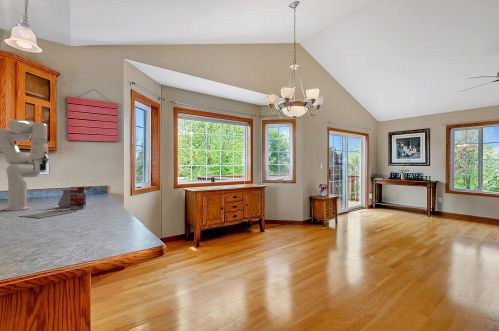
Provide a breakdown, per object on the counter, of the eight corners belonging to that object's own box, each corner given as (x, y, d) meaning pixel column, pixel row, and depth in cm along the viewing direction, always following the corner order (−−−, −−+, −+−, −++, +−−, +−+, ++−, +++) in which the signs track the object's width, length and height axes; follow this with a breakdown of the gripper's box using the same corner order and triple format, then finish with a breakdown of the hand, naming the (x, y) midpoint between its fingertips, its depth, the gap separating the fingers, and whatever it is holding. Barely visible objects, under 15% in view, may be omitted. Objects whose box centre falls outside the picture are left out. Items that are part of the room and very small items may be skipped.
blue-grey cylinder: (32, 172, 155) (32, 159, 155) (41, 172, 160) (41, 160, 160) (38, 172, 154) (38, 159, 154) (46, 172, 159) (46, 159, 159)
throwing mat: (18, 216, 146) (18, 215, 146) (56, 210, 168) (56, 209, 168) (40, 218, 142) (40, 217, 142) (76, 211, 163) (76, 210, 163)
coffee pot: (56, 209, 173) (57, 187, 173) (58, 206, 183) (58, 186, 183) (92, 206, 185) (92, 186, 185) (92, 204, 194) (92, 185, 194)
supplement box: (69, 209, 170) (69, 187, 171) (72, 208, 175) (72, 186, 175) (83, 209, 173) (83, 186, 173) (86, 208, 177) (86, 186, 178)
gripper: (23, 142, 156) (23, 170, 156) (42, 140, 151) (42, 170, 151) (36, 143, 163) (36, 170, 163) (55, 142, 158) (55, 170, 158)
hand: (39, 170), depth 157 cm, fingers closed on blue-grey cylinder, 4 cm apart
